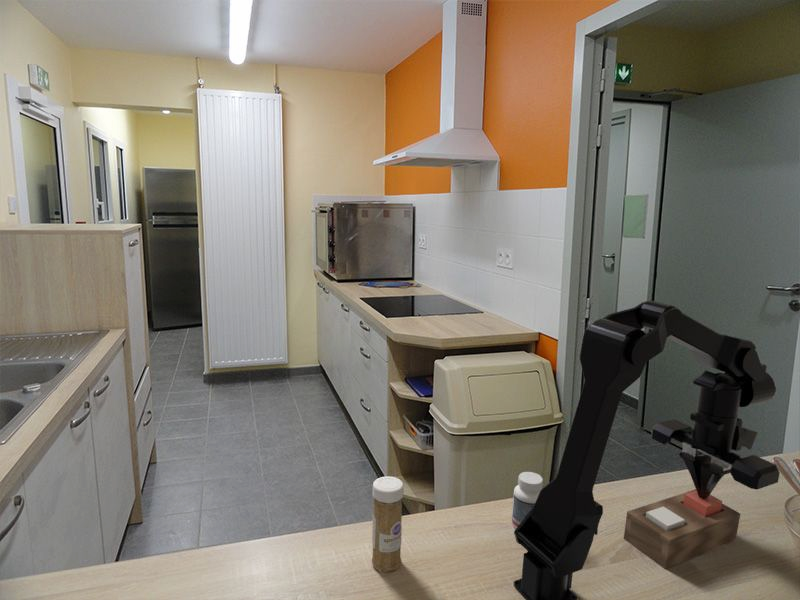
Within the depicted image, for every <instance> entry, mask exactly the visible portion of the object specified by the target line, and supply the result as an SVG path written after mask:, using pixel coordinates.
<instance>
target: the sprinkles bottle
mask: <svg viewBox="0 0 800 600" xmlns="http://www.w3.org/2000/svg"><path fill="white" fill-rule="evenodd" d="M403 496H404V483H403V481H402V480H401V479H399V478H398V477H395V476H381V477H379V478H376V479H375V480H374V481H373V483H372V498H373V507H372V510H373V511H372V532H371V533H372V535H371V537H372V539H371V542H372V543H371V544H372V558H371V565H372V566H373V568H374V569H375V570H377V571H379V572H383V573H384V572H385V573H387V572H388V573H390V572H394V571H395V570H397V569H398V568H399V567H400V565H401V563H402V559H401V548H402V547H401V545H402V534H403V533H402V531H403V530H402V527H403V526H402V521H403V520H402V517H403V514H402V511H403V504H402V503H403Z"/></svg>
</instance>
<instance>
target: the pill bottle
mask: <svg viewBox="0 0 800 600" xmlns="http://www.w3.org/2000/svg"><path fill="white" fill-rule="evenodd" d="M543 482H544V479H543V476H541V475H540V474H539V473H536V472H532V471H523V472H521V473H520V474H519V475H518V479H517V483H518V484H517V485H516V486H515V487H514V490H513V502H512V512H511V513H512V514H511V521H510V522H511V525H512V526H513V528H514V529H516V528H517V527H518V526H519V524H520V523H521V522H522V521H523V519H524V518H525V517H526V515H527V514H528V513H529V512H530V510H531V509H532V508H533V506H534V505H535V502H536V500H537V498H538V495H539V493H540V491H541V489H542V488H543V484H544V483H543Z"/></svg>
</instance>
